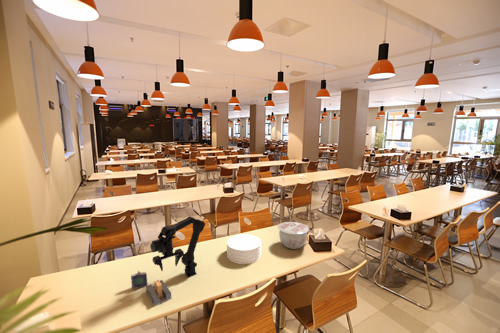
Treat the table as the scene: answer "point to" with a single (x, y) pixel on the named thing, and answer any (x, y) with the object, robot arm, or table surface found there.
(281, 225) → the chamber pot
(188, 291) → the table surface
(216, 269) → the table surface
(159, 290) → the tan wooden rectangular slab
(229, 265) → the table surface
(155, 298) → the rail
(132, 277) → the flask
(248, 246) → the plate stack
